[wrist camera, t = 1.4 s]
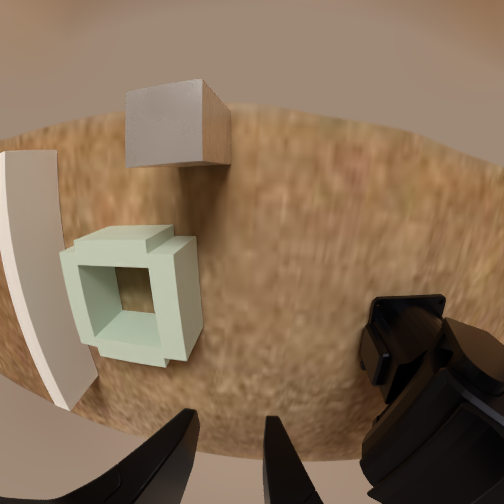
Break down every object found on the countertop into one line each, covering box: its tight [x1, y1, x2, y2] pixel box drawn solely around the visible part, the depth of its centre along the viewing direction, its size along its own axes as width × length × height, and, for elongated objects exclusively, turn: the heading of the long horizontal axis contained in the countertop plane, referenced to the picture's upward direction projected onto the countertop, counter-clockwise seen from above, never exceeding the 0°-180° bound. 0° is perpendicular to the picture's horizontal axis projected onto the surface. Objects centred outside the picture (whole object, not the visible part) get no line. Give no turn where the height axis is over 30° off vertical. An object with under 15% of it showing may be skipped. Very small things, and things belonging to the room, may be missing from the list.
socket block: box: [59, 225, 203, 368], centre depth 18 cm, size 9×9×4 cm
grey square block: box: [125, 79, 231, 168], centre depth 14 cm, size 4×4×7 cm
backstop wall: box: [0, 150, 98, 411], centre depth 19 cm, size 2×22×6 cm, turn 1°
